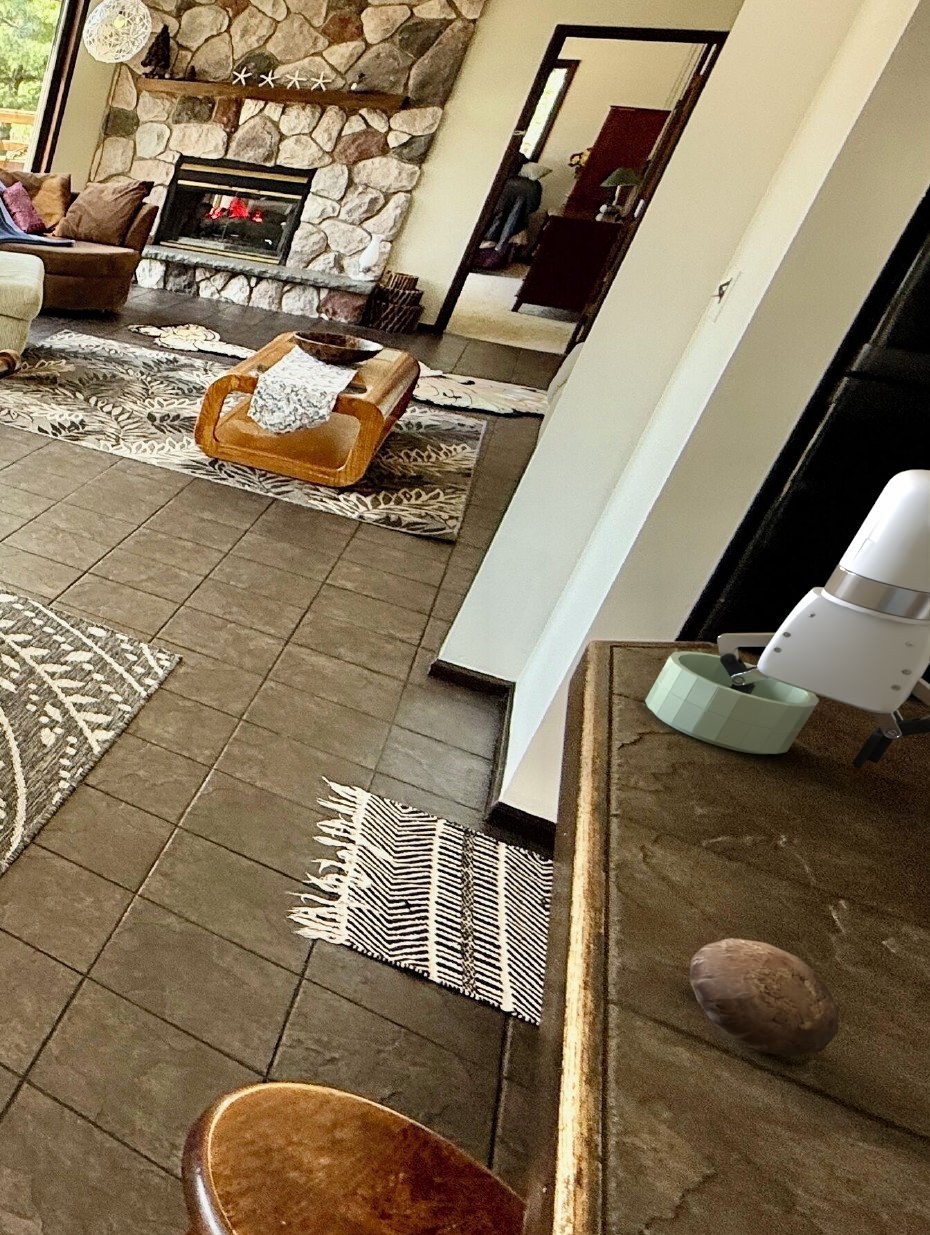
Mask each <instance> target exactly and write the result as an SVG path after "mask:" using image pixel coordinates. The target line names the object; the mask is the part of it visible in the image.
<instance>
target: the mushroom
mask: <svg viewBox="0 0 930 1235" xmlns="http://www.w3.org/2000/svg"><path fill="white" fill-rule="evenodd" d="M689 982H690V985H691V987H692V990H693V992H694V996H695V998H696V1000H697V1002H698V1004H699V1005H700V1007H701V1008H702V1009H703V1011H704V1012H705V1014H706V1015H707V1016H708V1018H709V1019H710V1021H711V1022H712V1023H713V1024H715V1025H716V1026H717V1027H718V1028H720V1030H722V1031H723V1032H724V1033H726V1034H727V1035H728V1036H729V1037H731V1038H732V1039H734V1040H735V1041H737V1042H739V1043H740V1044H743V1045H746V1046H748V1047H750V1048H752V1049H754V1050H756V1051H759V1052H760V1053H761V1052H762V1053H768V1054H774V1055H781V1056H782V1055H783V1056H788V1057H789V1056H791V1057H792V1056H798V1055H799V1056H800V1055H806V1054H815V1053H820V1052H822V1051H824V1050H825V1049H826V1047H827V1046H828V1045H829V1044H830V1043H831V1042H832V1041H833V1039H834V1038H835V1037H836V1036H837V1035H838V1033H839V1009H838V1007H837V1005H836V1003H835V1000H834V998H833V996H832V994H831V992H830V990H829V988H828V987H827V986H826V984H825V982H823V980H822V978H821V977H820V976H819V974H818V973H816V971H814V970H813V969H812V968H811V967H810V966H809V965H808V964H807V963H806V962H805V961H803V959H801V958H800V957H798V956H797V955H794V954H792V953H790V952H788V951H785V950H783V949H781V948H778V947H776V946H774V945H772V944H769V943H767V942H764V941H763V942H762V941H755V940H749V939H743V938H734V937H733V938H732V937H729V938H725V939H722V940H718V941H715V942H710V943H708V944H707V943H706V944H704V945H703V946H702V947H701V948H700V949H699V950H698V951H697V952H696V953H695V954H694V955H693V956H692V957H691V960H690V968H689Z"/></svg>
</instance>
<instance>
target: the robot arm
mask: <svg viewBox="0 0 930 1235" xmlns="http://www.w3.org/2000/svg"><path fill="white" fill-rule="evenodd" d="M860 526H861V527H860V528H859V530H858V531H857V533H856V535H854V538H853V540H852V541H851V543H850V545H849V546H848V548H847V550H846V551H845V552H844V554H843V556H842V558H841V559H840V561H839V563H838V564H837V565H836V567H835V568H834V571H833V572H832V573H831V575H830V577H829V579H828V580H827V582H826V584H825V586H824V587H820V586H815V587H813V588H812V589H810V591H808V593H807V594H805V595H804V597H802V599H801V600H800V601H799V602H798V603H797V605H795V607H794V608H793V609H792V611H791V612H789V615H787V617H786V618H785V620H784V621H783V623H782V624H781V625H780V626H779V628H778V629H777V631H776V632H735V633H734V632H732V633H731V632H729V633H728V632H727V633H726V632H725V633H722V634H720V635H719V636H718V637H717V638H716V643H717V649H718V653H719V656H720V662H721V663H722V665H723V667H724V668H725V670H726V671H727V673H728V674H729V676H730V677H731V682H732V683H733V684H732V686H731V687H730V689H733V690H736V691H739V692H742V693H746V694H751V693H752V691H753V689H754V688H755V686H756V685H753V684H754V682H757V681H760V680H764V679H768V678H771V679H774V680H776V681H779V682H782V683H785V684H787V685H790V686H793V687H796V688H799V689H802V690H805V691H808V692H811V693H814V694H815V695H816V696H819V697H822V698H826V699H829V700H831V701H835V702H838V703H841V704H844V705H847V706H850V707H853V708H856V709H859V710H863V711H866V712H870V713H871V714H872V716H873V717H874V718H873V719H874V720H875V722H876V724H877V725H878V727H877V726H876V727H875V728H874V729H873V731H872V732H871V734H870V735H869V737H868V738H867V739H866V741H865V743H863V745H862V747H861V749H860V750H859V751H858V753H857V755H856V756H855V758H854V759H853V761H852V762H851V765H852V766H853V767H854V768H857V769H859V770H861V769H862V768H863V767H864V765H865V764H866V762H867V761H869V762H871V763H874V764H878V763H879V762H880V760H881V759H882V757H883V756H884V754H885V753H886V752H887V750H888V748H889V747H890V746H891V744H892V743H893V741H894V740H896V739H899V738H902V737H909V736H914V735H921V734H927V733H930V713H929V714H926V715H924V716H919V717H912V718H907V719H904V718H903V717H902V714H901V713H900V711H899V708H900V707H901V705H903V704H904V703H905V702H906V701H907V700H908V699H909V698H910V696H911V694H912V695H913V696H915V697H916V698H917V699H918V700H920V701H921V702H922V703H924V704H925V705H926V706H928V707H929V708H930V683H928V681H926V680H924V678H922V677H923V675H924V673H925V672H926V670H927V668H928V666H929V665H930V470H929V469H928V470H927V469H926V470H925V469H909V470H905V471H901V472H899V473H897V474H895V475H894V476H893V477H892V478H891V479H889V481H888V483H887V484H886V485H885V486H884V488H883V490H882V492H881V493H880V495H879V496H878V498H877V500H876V501H875V504H874V505H873V506H872V508H871V510H870V511H869V513H868V515H867V517H866V518H865V519H864V521H863V523H862V524H861V525H860ZM740 647H765V648H764V650H763V652H762V653H761V656H760V657H759V660H758V662H757V664H756V665H754V666H752V667H749V668H747V667H746V665H745V664H744V660H743V659H742V658H741V656H740V655H739V648H740Z"/></svg>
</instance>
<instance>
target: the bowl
mask: <svg viewBox="0 0 930 1235" xmlns="http://www.w3.org/2000/svg"><path fill="white" fill-rule="evenodd" d="M743 662H744V661H743ZM744 664H745V665H746V667H747V668H749V667H752V666H755V665H754V664H750V663H748V662H744ZM732 684H733V683H732V682H731V677H730V676H729V674H728V673H727V671H726V670H725V668H724V667H723V665H722V663H721V662H720V655H718V654H712V653H707V652H701V651H689V650H682V651H674V652H673V653H671V654H670V656H668V658H667V660H666V662H665V664H664V666H663V667H662V669H661V671H660V672H659V674H658V676H657V679H656V680H655V682H654V683H653V686H652V687H651V689H650V691H649V693H648V694H647V696H646V698H645V699H644V701H645V704H646V706H647V708H648V709H649V711H651V712H652V713H653V714H654V715H655V716H656V717H657V719H659V720H661V721H662V722H663V723H665V724H666V725H667V726H670V727H671V728H672V729H675V730H677V731H679V732H682V733H683V734H686V735H688V736H690V737H692V738H694V739H697V740H701V741H703V742H706V743H708V744H711V745H713V746H714V745H715V746H716V747H717V746H718V747H721V748H724V749H728V750H732V751H736V752H742V753H748V754H753V755H769V754H770V755H778V754H784V753H787V752H788V751H789V750H790V748H791V747H792V745H793V743H794V742H795V740H796V739H797V737H798V735H799V734H800V732H802V729H803V728H804V726H805V725H806V723H807V721H808V720H809V718H810V717H811V715H812V713H813V712H814V710H815V709H816V707H817V706H818V705H819V702H820V699H819V697H817V694H814V693H811V692H808V691H805V690H802V689H799V688H796V687H793V686H790V685H787V684H785V683H782V682H779V681H776V680H774V679H771V678H768V679H764V680H760V681H757V682H754V684H753V685H756V686H755V688H754V689H753V691H752V693H751V694H746V693H742V692H739V691H736V690H733V689H730V687H731V686H732Z"/></svg>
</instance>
